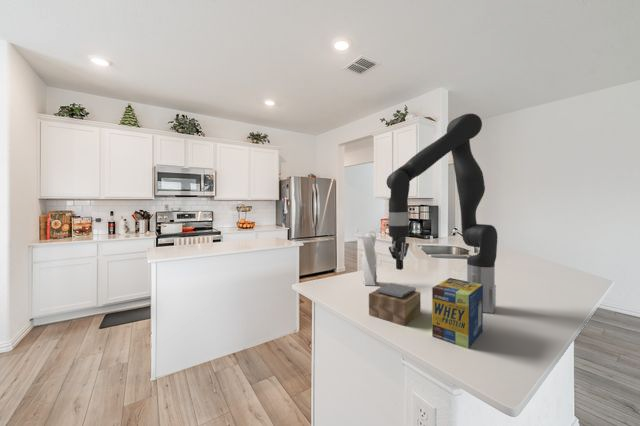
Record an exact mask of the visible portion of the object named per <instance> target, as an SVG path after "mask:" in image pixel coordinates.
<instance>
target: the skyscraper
mask: <svg viewBox="0 0 640 426" xmlns="http://www.w3.org/2000/svg"><path fill="white" fill-rule="evenodd" d="M372 233H373V234H374V235H373V234H372ZM361 239H362V242H363V243H362V244H363V254H362V269H363V271H362V272H363V277H364V280H363V284H364V286H365V287H379V286H380V284H379V283H378V280H377V278H378V277H377V276H378V275H377V256H376V249H375V246H376V241H377V234H376V232H374V231H369V233H362V235H361Z"/></svg>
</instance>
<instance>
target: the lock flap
mask: <svg viewBox="0 0 640 426" xmlns="http://www.w3.org/2000/svg"><path fill="white" fill-rule="evenodd" d="M416 289H417V288H416V287H413V286H408V285H404V284H403V285H402V284H398V283H391V282H390V283H388V284H386V285H384V286H381V287H379V288H377V289H376V290H377V292H379V293H383V294H387V295H392V296H396V297H400V298H403V297H405V296H406V295H408V294H410V293H412V292H414V291H416ZM416 292H417V291H416Z"/></svg>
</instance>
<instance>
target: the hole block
mask: <svg viewBox="0 0 640 426" xmlns="http://www.w3.org/2000/svg"><path fill="white" fill-rule="evenodd" d="M421 301H422V300H421V292H420V291H414V292H412V293H410V294H408V295H406V296H405V297H403V298H400V297H396V296H392V295H387V294H383V293H379V292H377V289H375V290H373V291H371V292H368V315H369V316H370V317H374V318H377V319H380V320H384V321H387V322H391V323H394V324H398V325H400V326H403V327H405V326H407V325H408V324H410V322H411V321H413V320H414V319H415V318H417V317H418V316H419V315H420V314H421Z"/></svg>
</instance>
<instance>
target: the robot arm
mask: <svg viewBox="0 0 640 426" xmlns="http://www.w3.org/2000/svg"><path fill="white" fill-rule="evenodd" d="M482 128H483V121H482V119H481V117H480V115H478V114H475V113H465V114H462V115H460V116H458V117H456V118H454V119H452V120H451V121H450V122H449V123H448V124H447V127H446V133H445V134H443V136H441V137H439V138H438V139H436V140H435V141H434V142H432V143H430V144H429V145H427V146H426V147H424V148H423V149H422V150H420V151H419V152H417V153H416V154H415V155H413V156H412V157H410V159H409V160H408V161H407V162H406V163H404V164H403V165H401V166H400V167H399V168H397V169H396V170H394V171H393V172H392V173H390V174H389V175H388V176H387V178H386V187H387V188H388V189H389V190H390V198H389V199H388V219H387V220H388V236H389V237H390V238H392V239H391V246H389V247H388V251H389V252H390V253H389V254H390V255H391V257H392V259H394V260H395V267H396V268H395V269H396V270H398V271H399V270H400V271H401V270H404V259H405V258H406V257H407V253H408V251H409V247H410V244H409V243H408V242H407V238H408V237H409V236H410V217H409V201H408V200H409V199H408V198H409V192H410V182H411V181H412V180H413V179H414V178H416V177H418V176H419V177H420V175H422V174H423V173H425V172H426V171H427V170H428V169H430V168H431V167H432V166H433V165H434V164H436V163H437V162H438V161H440V160H441V159H442V158H443V157H445V156H446V155H447V154H449V153H450V152H451V156H452V161H453V167H454V168H453V169H454V173H455V182H456V189H457V193H458V200H459V207H460V221H461V222H460V224H461V237H462V241H463V243H464V244H465V245H466V246H469V247H473V248H478V253H476V254H474V255H469V256H467V258H466V269H467V270H466V281H468V282H473V283H478V284H483V313H488V314H493V313H495V310H496V309H497V305H496V302H497V300H496V296H497V294H496V292H497V291H496V290H497V289H496V288H497V285H496V283H495V276H496V275H495V271H496V270H495V268H496V267H495V265H496V260H497V249H498V231H497V229H496V227H495V226H494V225H492V224H483V223H477V209H478V207H479V204H480V203H481V201H482V199H483V197H484V194H485V190H486V186H485V179H484V173H483V170H482V168H481V166H480V164H479V163H478V162H477V160H476V159H475V157H474V155H473V153H472V149H471V148H472V147H471V143H470V141H471V139H474V138H475V137H476V136H477V135H478V134H479V133H480V132H481V130H482Z"/></svg>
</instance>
